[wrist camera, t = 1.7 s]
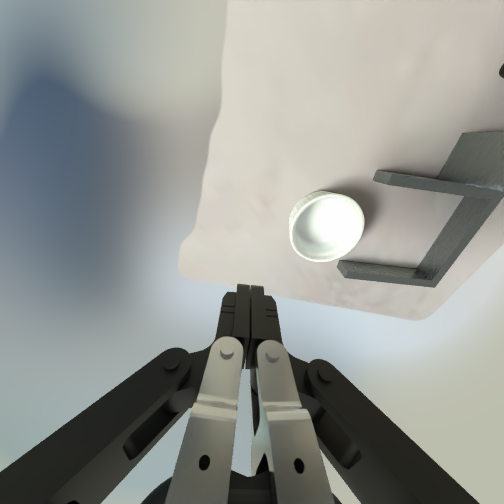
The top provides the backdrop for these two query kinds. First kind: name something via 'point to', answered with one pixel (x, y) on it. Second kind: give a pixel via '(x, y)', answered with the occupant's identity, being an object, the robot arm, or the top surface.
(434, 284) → the press
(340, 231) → the ramekin
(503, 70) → the end cap
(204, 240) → the top surface
